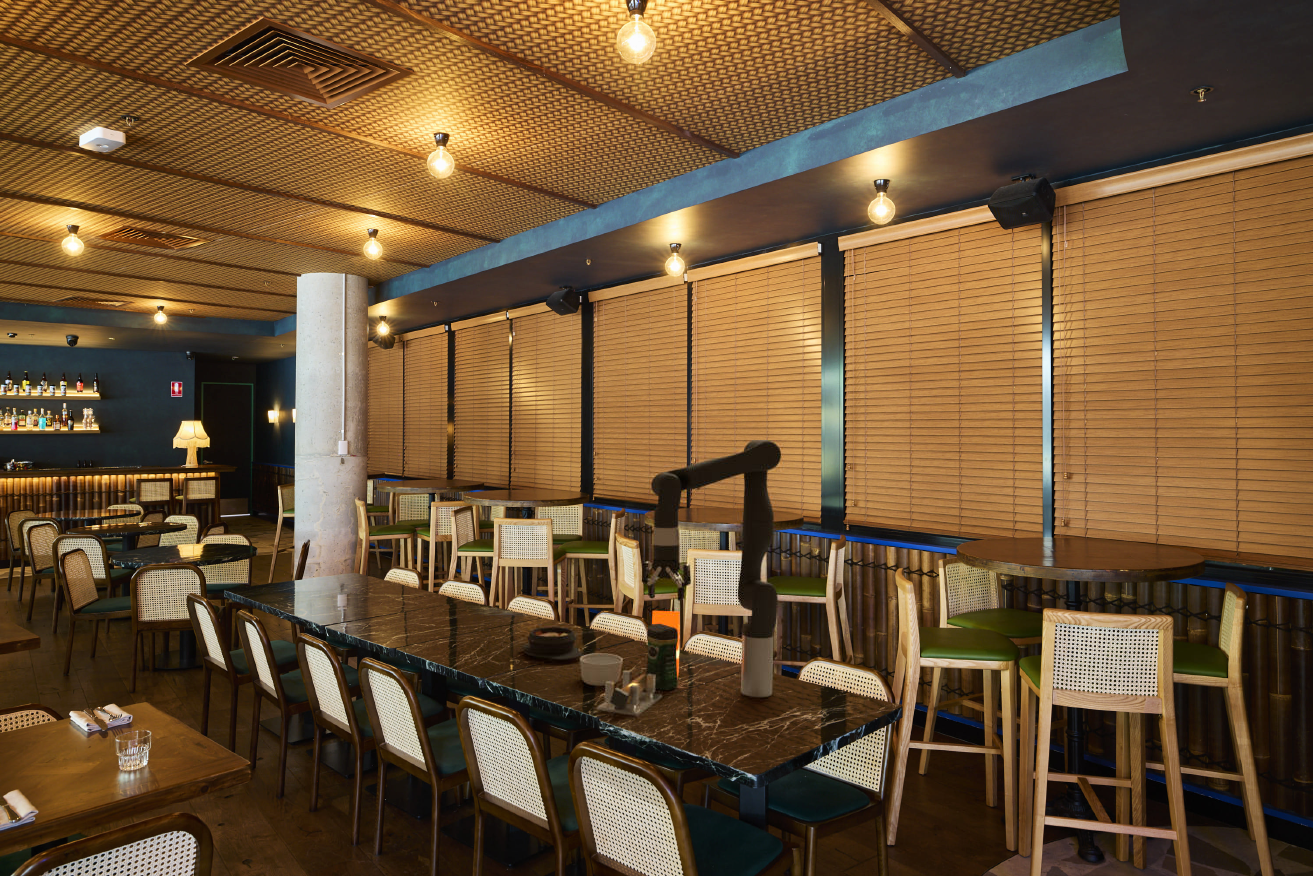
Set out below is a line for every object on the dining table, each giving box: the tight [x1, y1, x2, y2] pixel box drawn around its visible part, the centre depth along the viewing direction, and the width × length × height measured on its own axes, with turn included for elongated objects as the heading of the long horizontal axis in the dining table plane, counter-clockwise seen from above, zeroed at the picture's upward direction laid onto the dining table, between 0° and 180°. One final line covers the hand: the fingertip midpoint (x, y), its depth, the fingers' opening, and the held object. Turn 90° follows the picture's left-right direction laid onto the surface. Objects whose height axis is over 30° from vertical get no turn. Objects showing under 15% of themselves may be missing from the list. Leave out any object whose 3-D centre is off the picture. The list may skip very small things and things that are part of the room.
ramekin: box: [579, 652, 623, 687], centre depth 244 cm, size 13×13×7 cm
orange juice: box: [651, 610, 681, 679], centre depth 253 cm, size 8×9×20 cm
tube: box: [610, 673, 647, 709], centre depth 222 cm, size 19×4×4 cm, turn 158°
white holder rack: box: [596, 670, 663, 717], centre depth 223 cm, size 18×12×7 cm, turn 158°
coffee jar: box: [645, 623, 678, 691], centre depth 240 cm, size 10×8×19 cm
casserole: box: [521, 626, 584, 661], centre depth 272 cm, size 25×19×8 cm
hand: (666, 599), depth 226 cm, fingers open, 8 cm apart
